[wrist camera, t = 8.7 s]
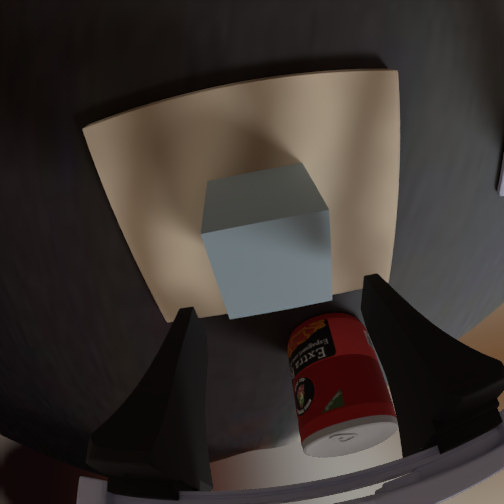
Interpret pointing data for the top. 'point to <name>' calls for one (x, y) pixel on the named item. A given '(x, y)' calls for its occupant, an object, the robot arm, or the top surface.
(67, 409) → the top surface
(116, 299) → the top surface
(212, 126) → the board
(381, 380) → the canned food
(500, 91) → the top surface
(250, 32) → the top surface
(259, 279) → the cube
